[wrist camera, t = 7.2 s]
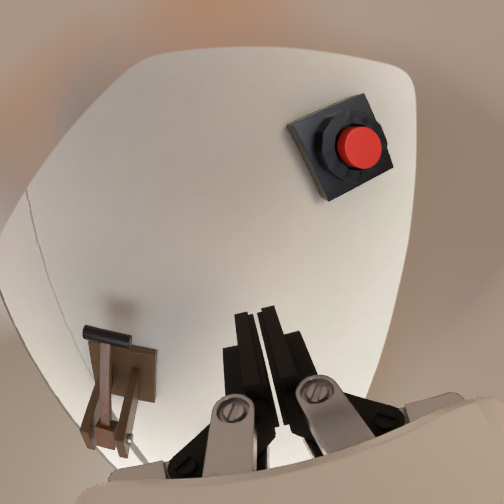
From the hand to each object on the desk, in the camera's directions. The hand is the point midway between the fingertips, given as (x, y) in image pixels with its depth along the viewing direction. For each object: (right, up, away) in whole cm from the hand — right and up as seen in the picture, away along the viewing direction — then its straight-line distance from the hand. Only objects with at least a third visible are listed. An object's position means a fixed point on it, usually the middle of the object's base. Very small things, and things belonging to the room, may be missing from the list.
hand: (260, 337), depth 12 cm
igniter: (+8, +14, +14) cm, 22 cm away
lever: (-16, -11, +13) cm, 24 cm away
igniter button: (+9, +13, +11) cm, 19 cm away
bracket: (-18, -12, +22) cm, 31 cm away
